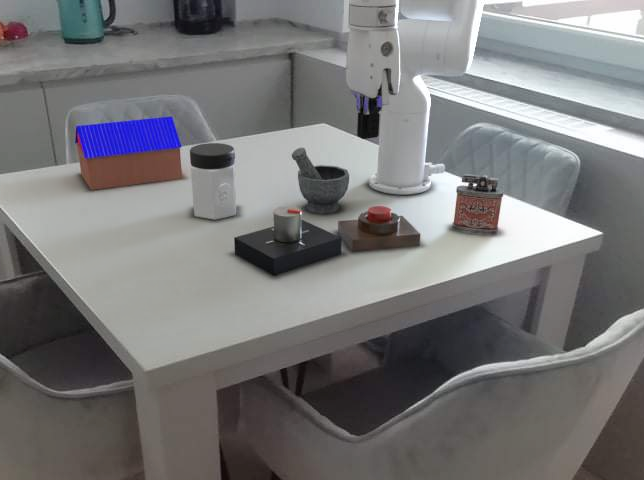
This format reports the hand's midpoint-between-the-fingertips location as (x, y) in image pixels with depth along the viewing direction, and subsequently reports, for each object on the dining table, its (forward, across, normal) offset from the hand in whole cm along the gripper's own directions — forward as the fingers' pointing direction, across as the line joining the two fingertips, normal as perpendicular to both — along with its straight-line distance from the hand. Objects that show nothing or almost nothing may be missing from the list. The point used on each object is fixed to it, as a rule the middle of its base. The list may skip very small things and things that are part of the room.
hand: (367, 136), depth 125 cm
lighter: (+17, -7, -19) cm, 26 cm away
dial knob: (+14, -4, +16) cm, 22 cm away
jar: (+17, +20, +21) cm, 34 cm away
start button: (+13, -4, -1) cm, 14 cm away
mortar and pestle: (+17, +14, +2) cm, 22 cm away
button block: (+17, -4, -1) cm, 17 cm away
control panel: (+17, -4, +16) cm, 24 cm away
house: (+17, +48, +30) cm, 60 cm away
